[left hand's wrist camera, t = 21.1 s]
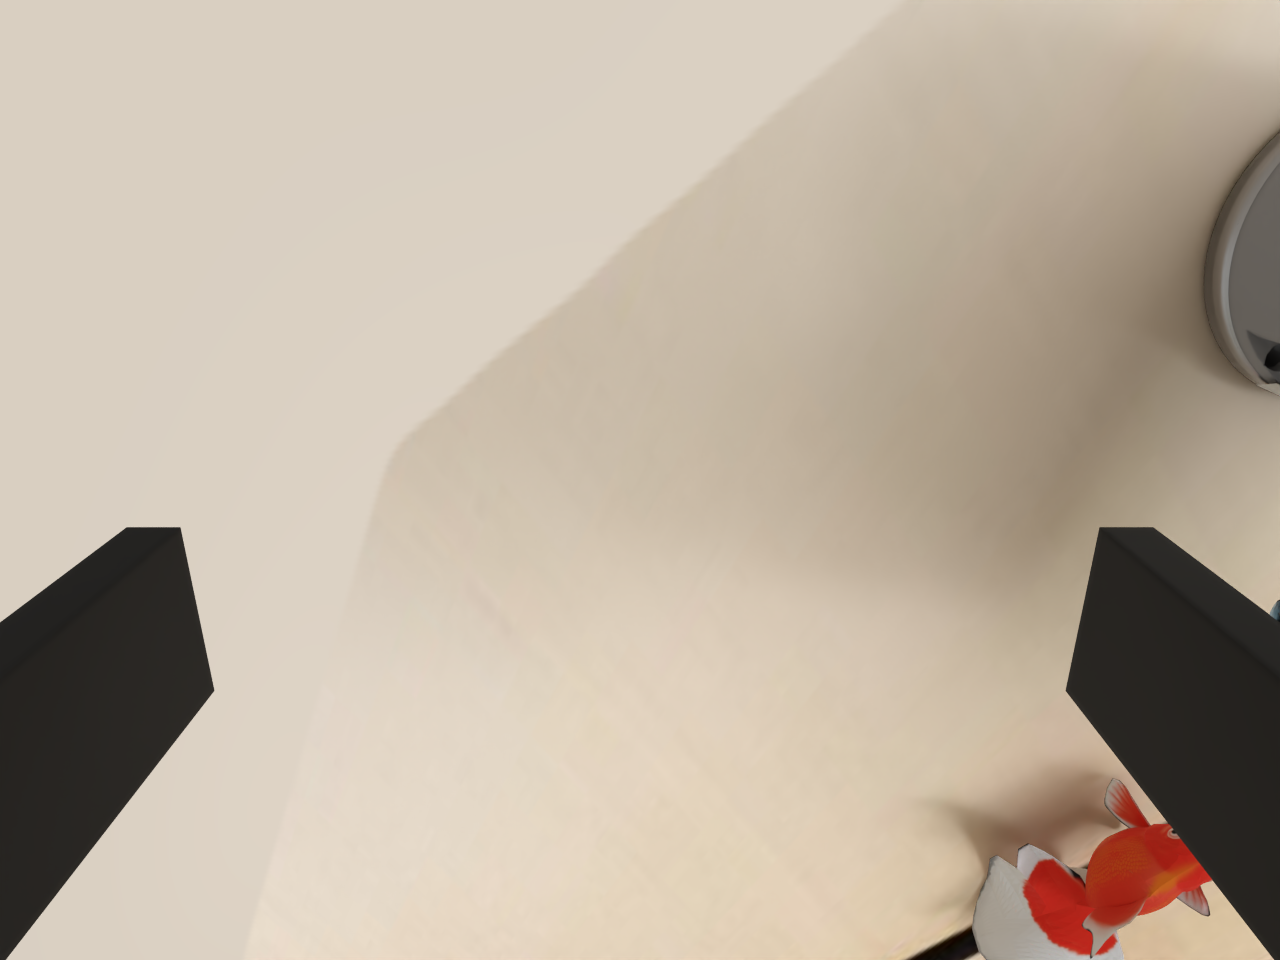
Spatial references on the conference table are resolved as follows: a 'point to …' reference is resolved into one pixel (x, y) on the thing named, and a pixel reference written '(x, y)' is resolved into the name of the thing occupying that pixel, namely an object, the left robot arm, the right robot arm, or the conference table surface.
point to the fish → (1085, 892)
